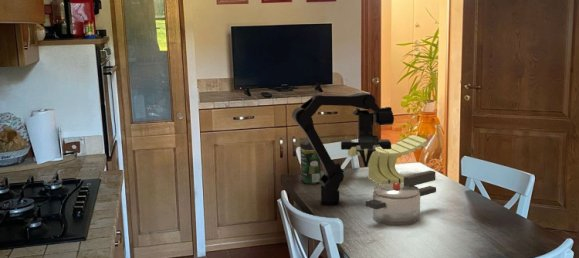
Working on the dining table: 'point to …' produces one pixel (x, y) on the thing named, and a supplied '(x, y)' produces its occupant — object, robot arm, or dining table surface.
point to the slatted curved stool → (389, 159)
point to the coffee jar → (309, 163)
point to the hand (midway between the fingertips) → (365, 166)
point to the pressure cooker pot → (398, 208)
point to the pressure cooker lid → (405, 186)
